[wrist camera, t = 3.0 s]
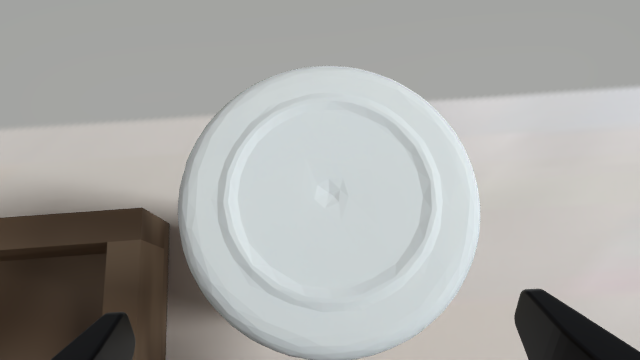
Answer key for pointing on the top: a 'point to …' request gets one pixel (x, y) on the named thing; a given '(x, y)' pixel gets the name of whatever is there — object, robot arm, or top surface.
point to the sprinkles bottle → (329, 213)
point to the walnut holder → (81, 279)
